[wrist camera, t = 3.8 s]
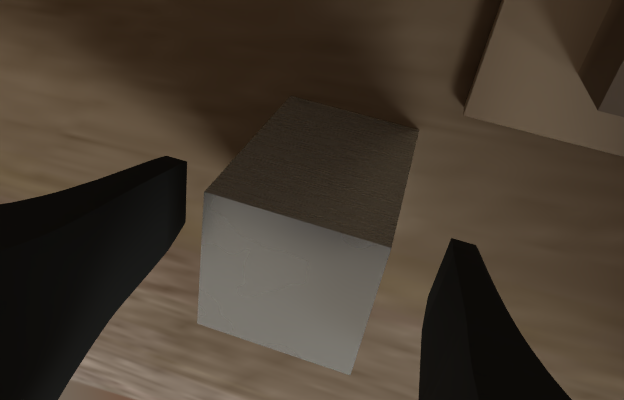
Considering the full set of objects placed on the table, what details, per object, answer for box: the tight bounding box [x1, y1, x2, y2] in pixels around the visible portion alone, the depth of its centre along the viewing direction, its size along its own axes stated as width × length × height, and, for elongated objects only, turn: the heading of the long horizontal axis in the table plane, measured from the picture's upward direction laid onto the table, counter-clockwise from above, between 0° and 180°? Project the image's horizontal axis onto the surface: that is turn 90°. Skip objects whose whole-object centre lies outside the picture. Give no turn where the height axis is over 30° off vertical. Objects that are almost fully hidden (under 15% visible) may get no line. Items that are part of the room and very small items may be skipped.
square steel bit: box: [197, 96, 419, 375], centre depth 14 cm, size 4×4×6 cm
